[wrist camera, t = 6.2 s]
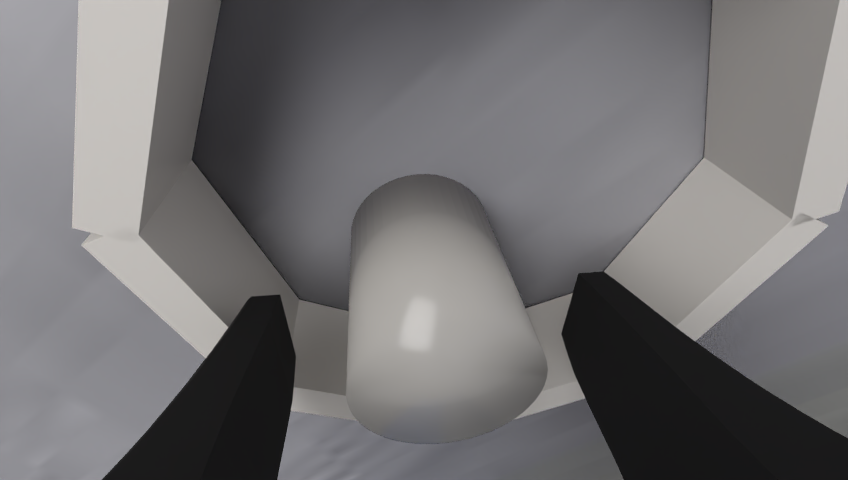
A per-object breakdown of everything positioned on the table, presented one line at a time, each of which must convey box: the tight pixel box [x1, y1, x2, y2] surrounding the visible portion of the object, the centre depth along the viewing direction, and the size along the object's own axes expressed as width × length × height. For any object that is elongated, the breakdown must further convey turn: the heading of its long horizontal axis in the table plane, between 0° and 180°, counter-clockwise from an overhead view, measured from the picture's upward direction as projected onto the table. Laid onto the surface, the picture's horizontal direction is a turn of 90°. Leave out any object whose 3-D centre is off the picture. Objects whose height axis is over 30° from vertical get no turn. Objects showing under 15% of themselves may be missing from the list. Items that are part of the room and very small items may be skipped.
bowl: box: [72, 0, 848, 421], centre depth 10 cm, size 14×14×3 cm
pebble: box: [346, 174, 548, 444], centre depth 10 cm, size 4×4×5 cm
